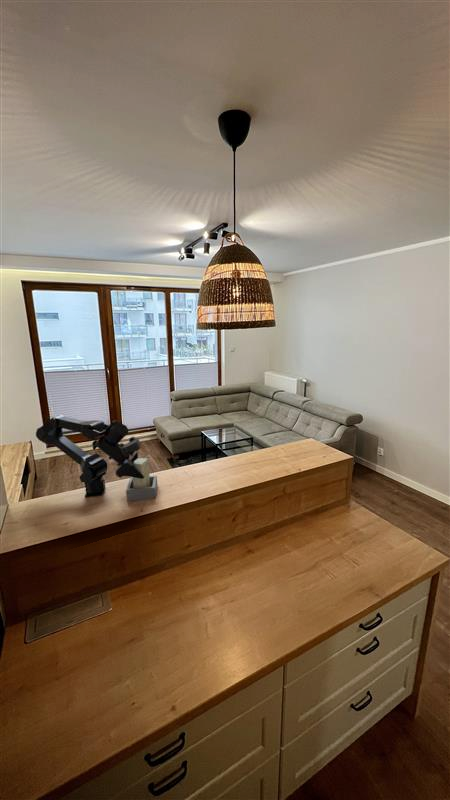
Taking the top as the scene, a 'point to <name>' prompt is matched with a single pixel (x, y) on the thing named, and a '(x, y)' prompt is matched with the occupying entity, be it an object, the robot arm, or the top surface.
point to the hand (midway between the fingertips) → (144, 473)
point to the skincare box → (144, 470)
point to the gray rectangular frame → (142, 490)
